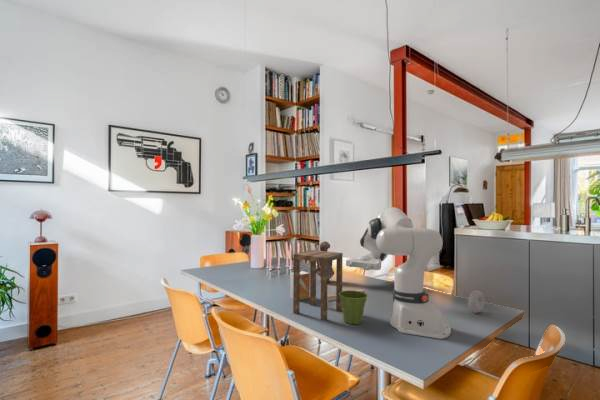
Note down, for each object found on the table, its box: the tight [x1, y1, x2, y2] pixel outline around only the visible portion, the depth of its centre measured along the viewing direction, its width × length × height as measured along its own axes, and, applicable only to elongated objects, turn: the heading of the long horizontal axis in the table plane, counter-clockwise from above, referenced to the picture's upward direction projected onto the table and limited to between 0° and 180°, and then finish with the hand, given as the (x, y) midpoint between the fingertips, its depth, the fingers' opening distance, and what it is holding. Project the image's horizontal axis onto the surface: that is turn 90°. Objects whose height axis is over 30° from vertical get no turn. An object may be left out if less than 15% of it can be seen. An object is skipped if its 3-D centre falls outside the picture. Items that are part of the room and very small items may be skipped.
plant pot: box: [339, 290, 369, 325], centre depth 133 cm, size 12×12×11 cm
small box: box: [289, 270, 310, 301], centre depth 164 cm, size 8×6×13 cm
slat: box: [327, 289, 366, 302], centre depth 167 cm, size 3×24×2 cm, turn 120°
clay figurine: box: [316, 241, 335, 283], centre depth 198 cm, size 13×10×25 cm
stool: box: [292, 249, 343, 322], centre depth 144 cm, size 16×16×26 cm
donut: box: [467, 290, 485, 314], centre depth 145 cm, size 10×4×10 cm, turn 124°
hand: (357, 266), depth 182 cm, fingers open, 8 cm apart
